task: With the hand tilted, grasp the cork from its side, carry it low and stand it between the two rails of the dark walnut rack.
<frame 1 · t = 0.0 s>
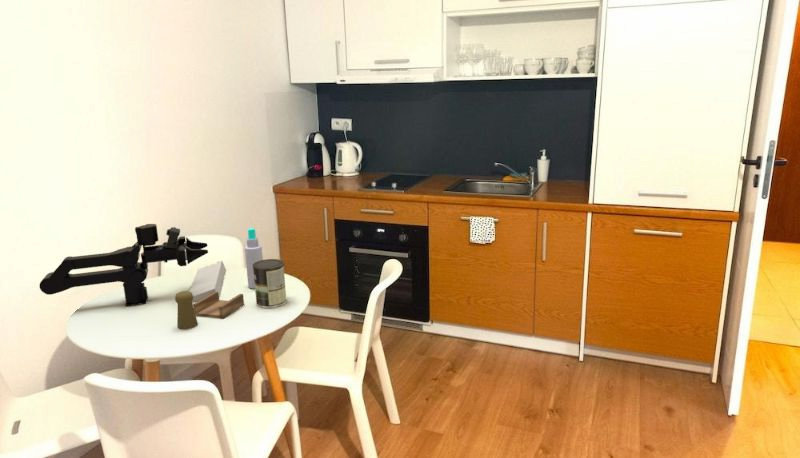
hand: (207, 247, 201), 17 cm above the table, tool horizontal, fingers open, 9 cm apart
light grey block: (208, 287, 212), on the table
spray bottle: (256, 287, 209), on the table
cork: (187, 326, 176), on the table
coffee can: (271, 303, 193), on the table
rack: (219, 310, 187), on the table
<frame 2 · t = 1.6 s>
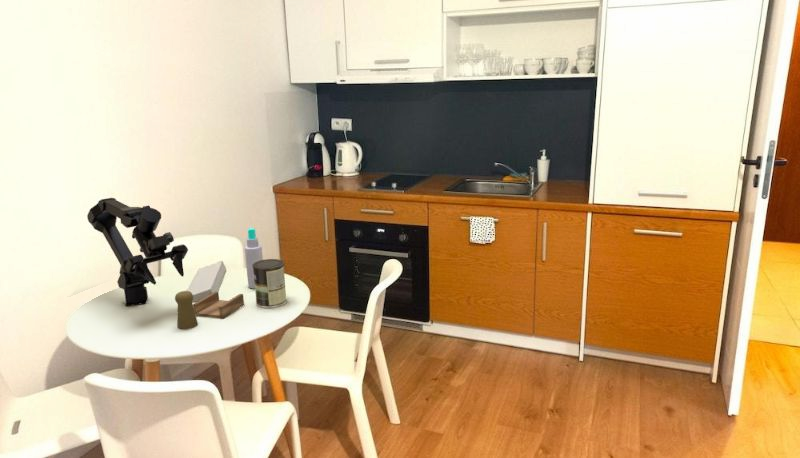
hand: (169, 279, 177), 13 cm above the table, tool tilted 45°, fingers open, 9 cm apart
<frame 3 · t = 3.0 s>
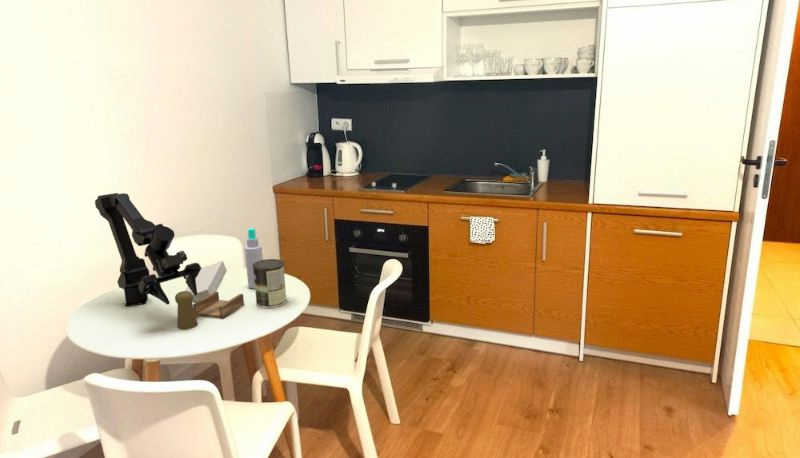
hand: (182, 299, 174), 9 cm above the table, tool tilted 45°, fingers open, 9 cm apart
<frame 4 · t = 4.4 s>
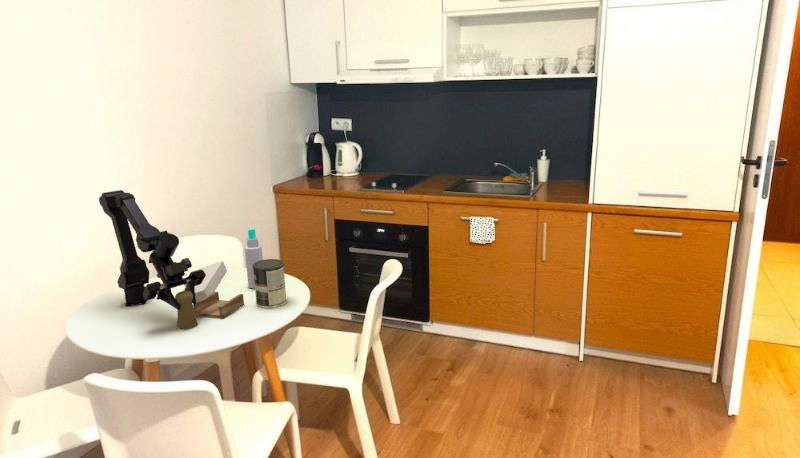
hand: (187, 306, 173), 7 cm above the table, tool tilted 45°, fingers closed on cork, 5 cm apart
cork: (187, 326, 176), on the table, touching gripper
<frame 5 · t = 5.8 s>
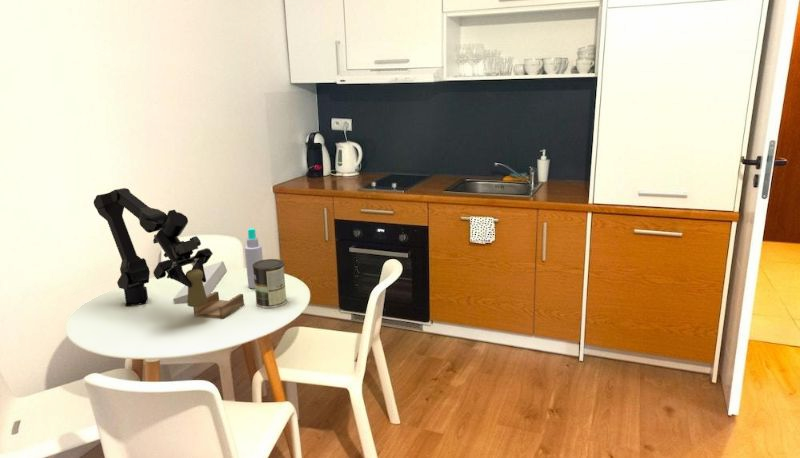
hand: (198, 284, 176), 12 cm above the table, tool tilted 45°, fingers closed on cork, 5 cm apart
cork: (197, 303, 178), point 6 cm above the table, touching gripper
when the fingers open (9 cm above the table, at t = 7.7 s): cork drops 1 cm, resting on rack.
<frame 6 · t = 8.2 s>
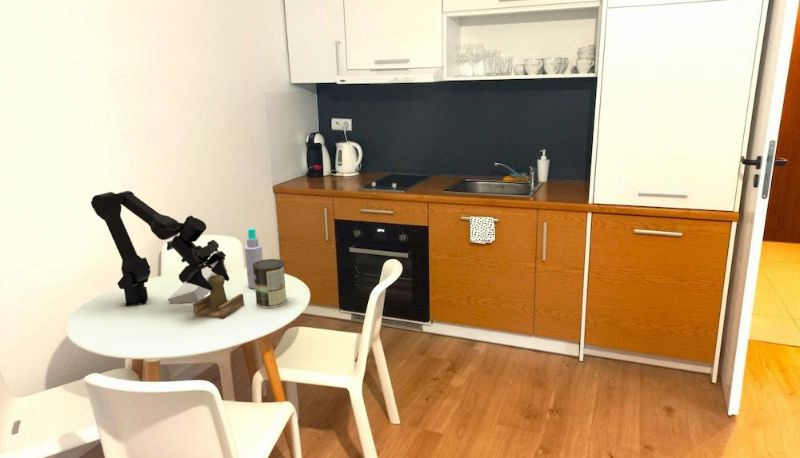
hand: (220, 284, 185), 9 cm above the table, tool tilted 45°, fingers open, 9 cm apart
cork: (219, 308, 187), point 1 cm above the table, touching rack
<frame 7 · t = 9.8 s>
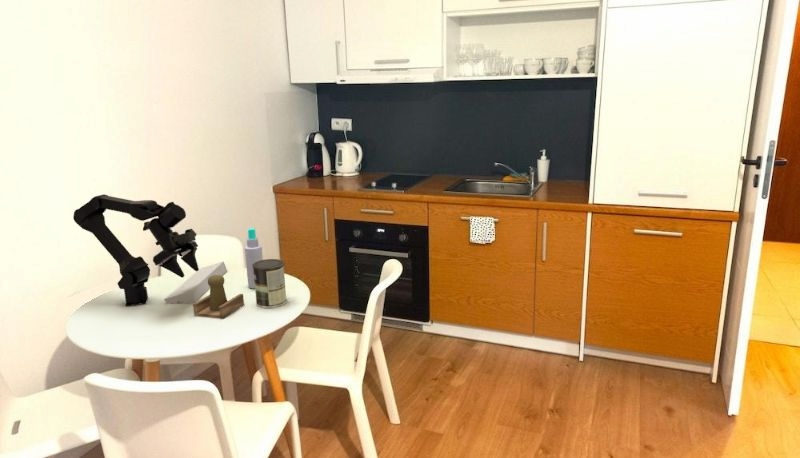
hand: (190, 273, 187), 12 cm above the table, tool tilted 35°, fingers open, 9 cm apart
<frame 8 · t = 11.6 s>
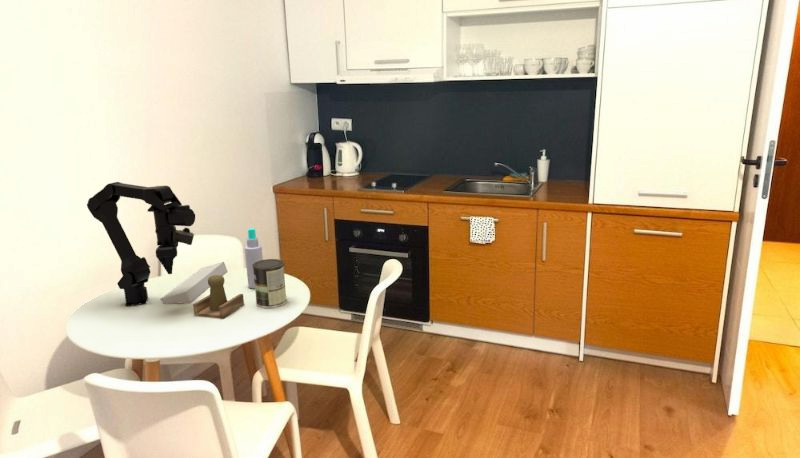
hand: (170, 270, 189), 13 cm above the table, tool pointing down, fingers open, 9 cm apart
at the end: cork 0.1 cm from the rack (horizontally); cork tilted 0°; the gripper is holding nothing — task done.
